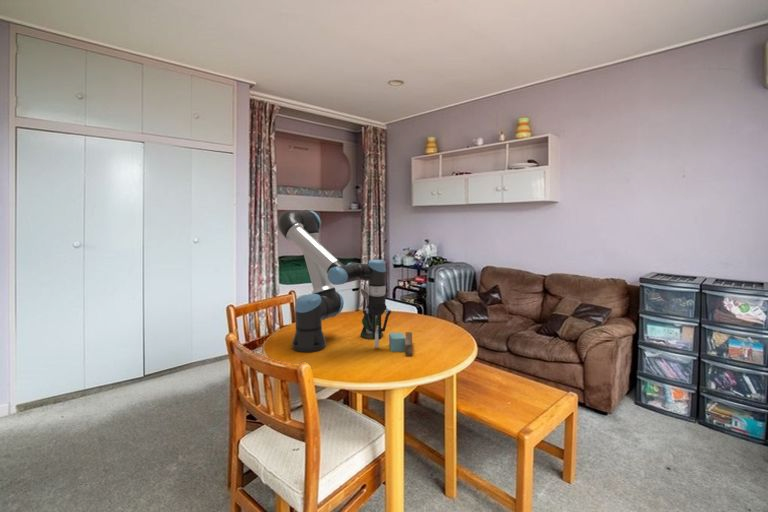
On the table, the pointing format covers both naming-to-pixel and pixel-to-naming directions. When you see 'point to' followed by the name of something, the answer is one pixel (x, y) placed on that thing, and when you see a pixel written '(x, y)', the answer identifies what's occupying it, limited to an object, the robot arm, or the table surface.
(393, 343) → the block
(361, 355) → the table surface
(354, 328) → the table surface
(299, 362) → the table surface
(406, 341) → the board
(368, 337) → the figurine
